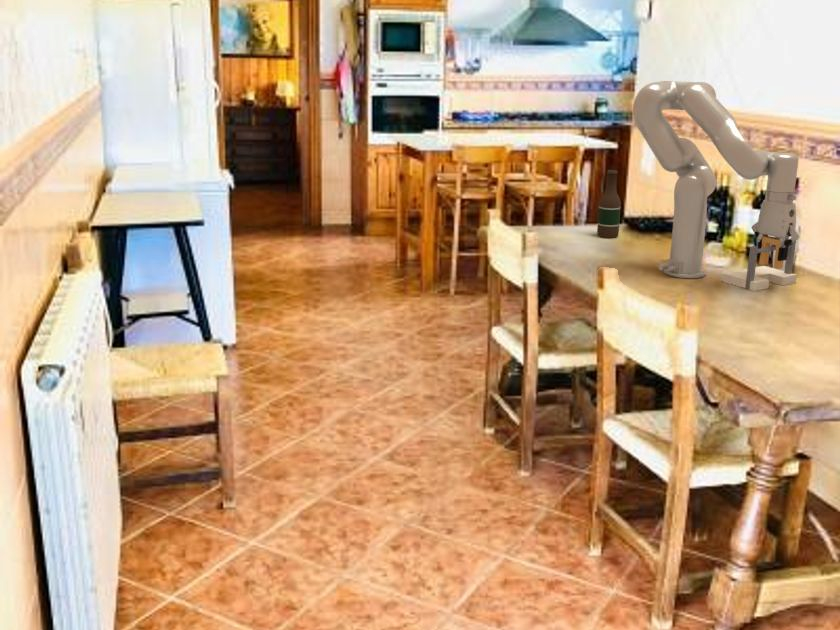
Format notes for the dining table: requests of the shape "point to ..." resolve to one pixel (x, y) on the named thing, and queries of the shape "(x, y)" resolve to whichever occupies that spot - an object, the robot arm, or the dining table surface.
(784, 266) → the beige cube
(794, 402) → the dining table surface
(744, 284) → the hanging rack
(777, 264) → the orange u-shaped block
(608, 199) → the beer bottle
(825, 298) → the dining table surface
